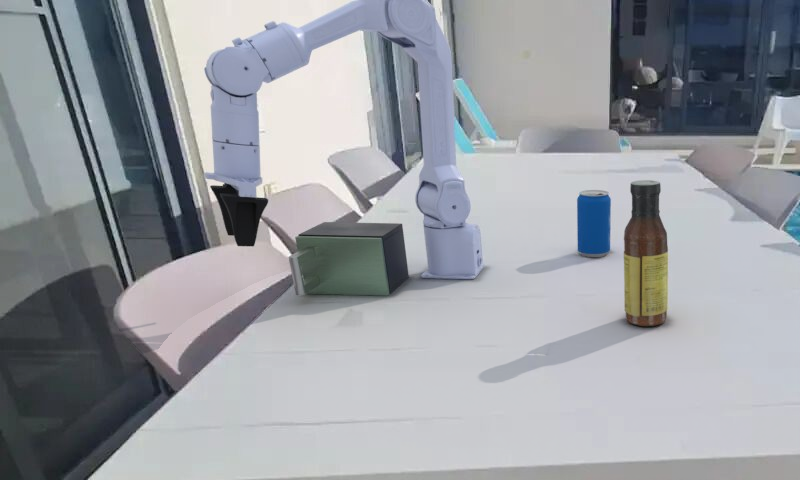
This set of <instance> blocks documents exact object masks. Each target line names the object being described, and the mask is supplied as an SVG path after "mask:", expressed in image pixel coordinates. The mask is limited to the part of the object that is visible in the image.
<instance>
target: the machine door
mask: <svg viewBox="0 0 800 480" xmlns="http://www.w3.org/2000/svg"><path fill="white" fill-rule="evenodd" d="M294 239H295V244H296V249H297V251H296V252H295V253H293V254H290V255H289V256H288V257H287V258H288V263H289V267H290V273H291V277H292V282H293V287H294V291H295V296H298V297H301V296H305V295H307V294H308V295H341V296H342V295H345V296H350V295H351V296H379V297H381V296H383V297H384V296H386V297H388V296H390V295H391V294H390V292H389V285H388V278H387V271H386V264H385V256H384V249H383V242H382V238H370V237H323V236H298V235H297V236H295V237H294Z"/></svg>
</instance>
